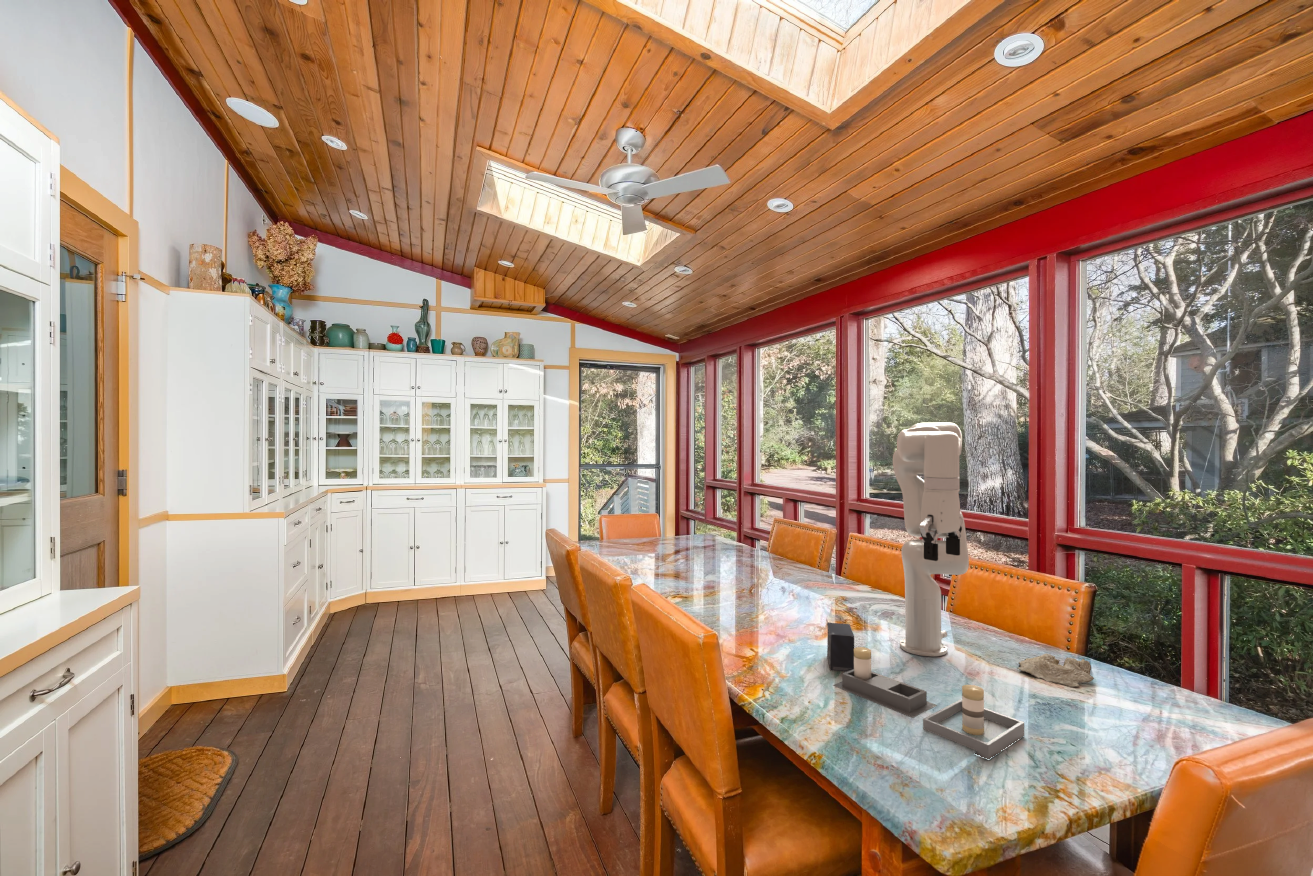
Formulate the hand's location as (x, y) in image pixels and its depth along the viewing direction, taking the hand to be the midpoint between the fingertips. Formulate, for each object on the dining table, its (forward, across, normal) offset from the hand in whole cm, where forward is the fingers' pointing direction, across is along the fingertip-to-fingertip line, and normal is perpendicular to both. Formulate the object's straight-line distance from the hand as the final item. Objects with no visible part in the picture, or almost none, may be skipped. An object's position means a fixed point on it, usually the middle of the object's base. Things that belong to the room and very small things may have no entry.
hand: (942, 557), depth 141 cm
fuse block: (+33, +12, -8) cm, 36 cm away
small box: (+34, +4, -26) cm, 43 cm away
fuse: (+32, +12, -14) cm, 37 cm away
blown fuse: (+33, +12, +13) cm, 37 cm away
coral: (+34, -36, +9) cm, 50 cm away
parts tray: (+33, +12, +13) cm, 38 cm away
